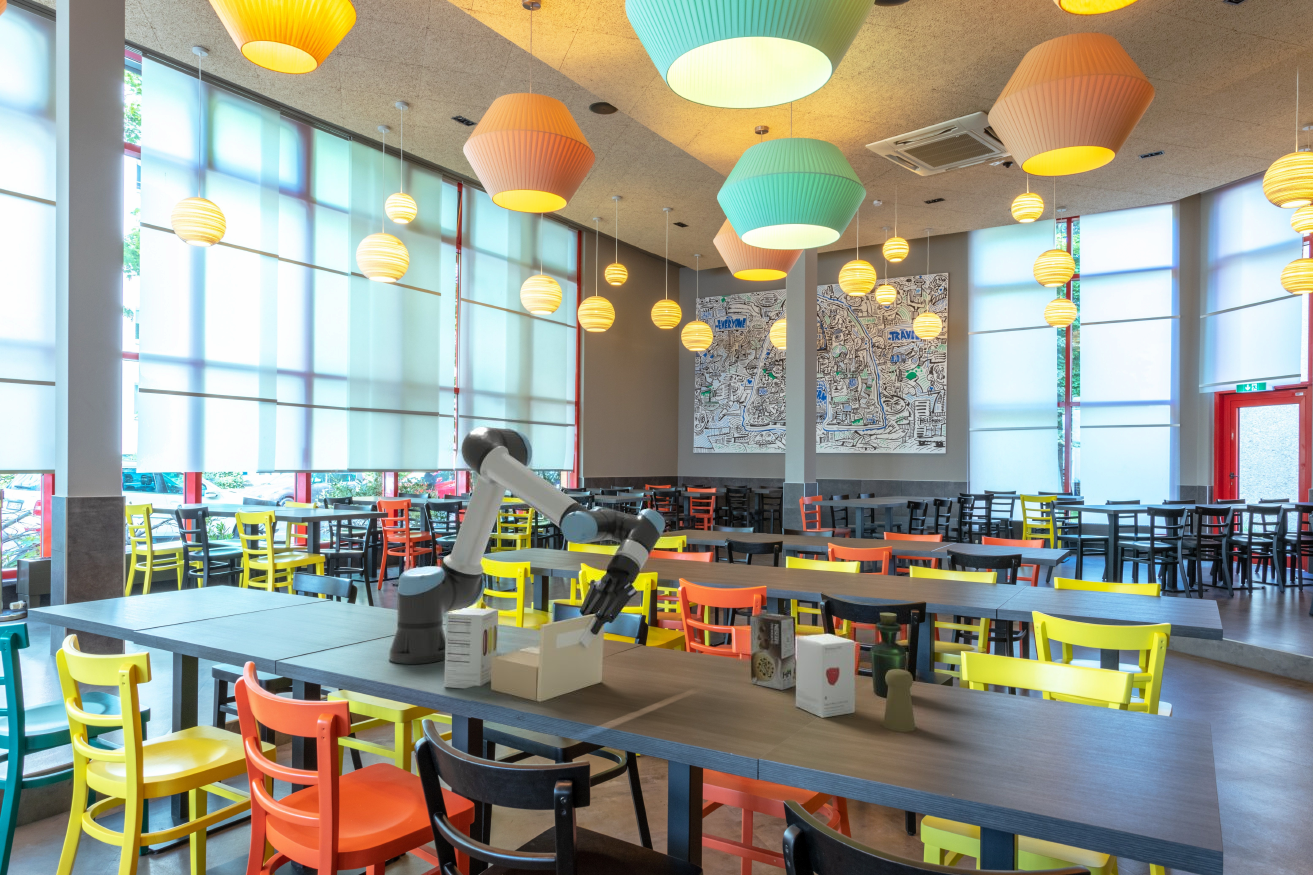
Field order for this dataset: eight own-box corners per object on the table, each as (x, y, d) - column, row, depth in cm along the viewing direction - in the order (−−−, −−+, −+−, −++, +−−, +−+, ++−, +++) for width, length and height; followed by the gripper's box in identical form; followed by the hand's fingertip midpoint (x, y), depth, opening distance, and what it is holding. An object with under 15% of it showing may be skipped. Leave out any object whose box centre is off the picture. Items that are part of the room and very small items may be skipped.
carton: (490, 693, 170) (491, 656, 170) (553, 675, 186) (553, 641, 186) (535, 705, 161) (536, 666, 162) (597, 685, 177) (598, 649, 178)
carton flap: (536, 700, 161) (540, 624, 161) (598, 680, 177) (601, 612, 178) (540, 701, 160) (544, 625, 161) (601, 681, 177) (605, 612, 177)
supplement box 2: (822, 718, 154) (822, 644, 155) (794, 706, 162) (794, 635, 163) (856, 712, 159) (856, 640, 159) (828, 701, 166) (827, 632, 167)
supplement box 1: (480, 690, 172) (482, 615, 173) (442, 687, 174) (444, 613, 175) (497, 679, 181) (499, 608, 182) (461, 677, 183) (463, 606, 184)
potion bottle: (873, 687, 178) (873, 609, 179) (909, 691, 175) (909, 612, 176) (866, 695, 171) (866, 615, 172) (904, 700, 167) (904, 618, 168)
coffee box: (797, 685, 179) (797, 616, 180) (781, 690, 174) (781, 619, 175) (765, 678, 185) (765, 611, 186) (749, 683, 181) (749, 614, 182)
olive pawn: (911, 733, 146) (910, 675, 146) (879, 727, 149) (879, 671, 150) (918, 725, 151) (918, 669, 152) (888, 719, 154) (887, 664, 155)
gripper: (657, 575, 183) (611, 658, 168) (610, 570, 191) (563, 648, 177) (644, 555, 179) (596, 638, 164) (597, 550, 187) (548, 629, 173)
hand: (579, 643), depth 171 cm, fingers closed on carton flap
